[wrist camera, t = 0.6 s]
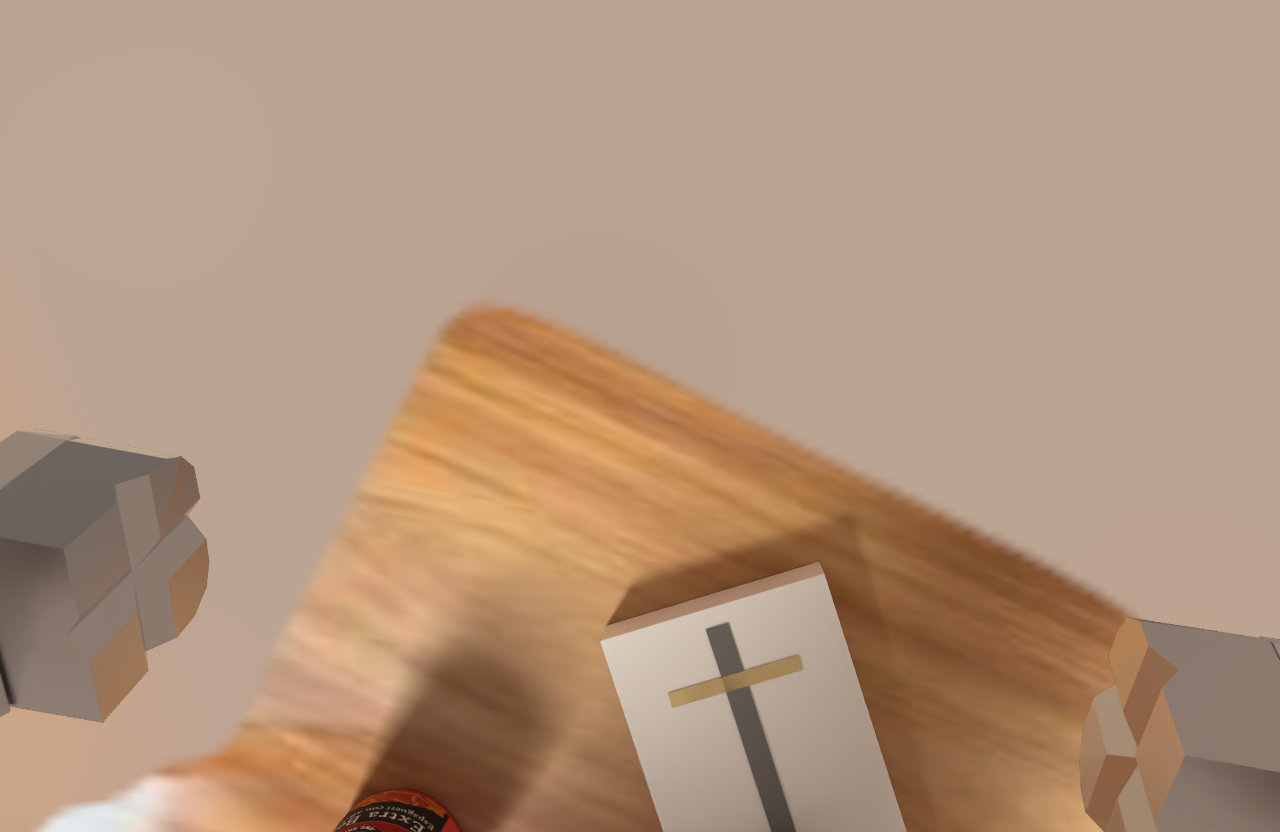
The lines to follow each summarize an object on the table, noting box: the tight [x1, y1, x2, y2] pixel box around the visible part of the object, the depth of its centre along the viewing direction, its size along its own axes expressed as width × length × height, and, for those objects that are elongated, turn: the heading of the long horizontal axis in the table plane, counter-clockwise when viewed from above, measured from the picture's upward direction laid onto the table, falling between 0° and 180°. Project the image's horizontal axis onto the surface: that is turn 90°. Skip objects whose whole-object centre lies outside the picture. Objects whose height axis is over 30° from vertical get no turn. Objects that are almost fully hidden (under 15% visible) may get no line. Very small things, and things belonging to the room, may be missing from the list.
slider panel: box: [600, 562, 907, 832], centre depth 58 cm, size 22×12×3 cm, turn 18°
